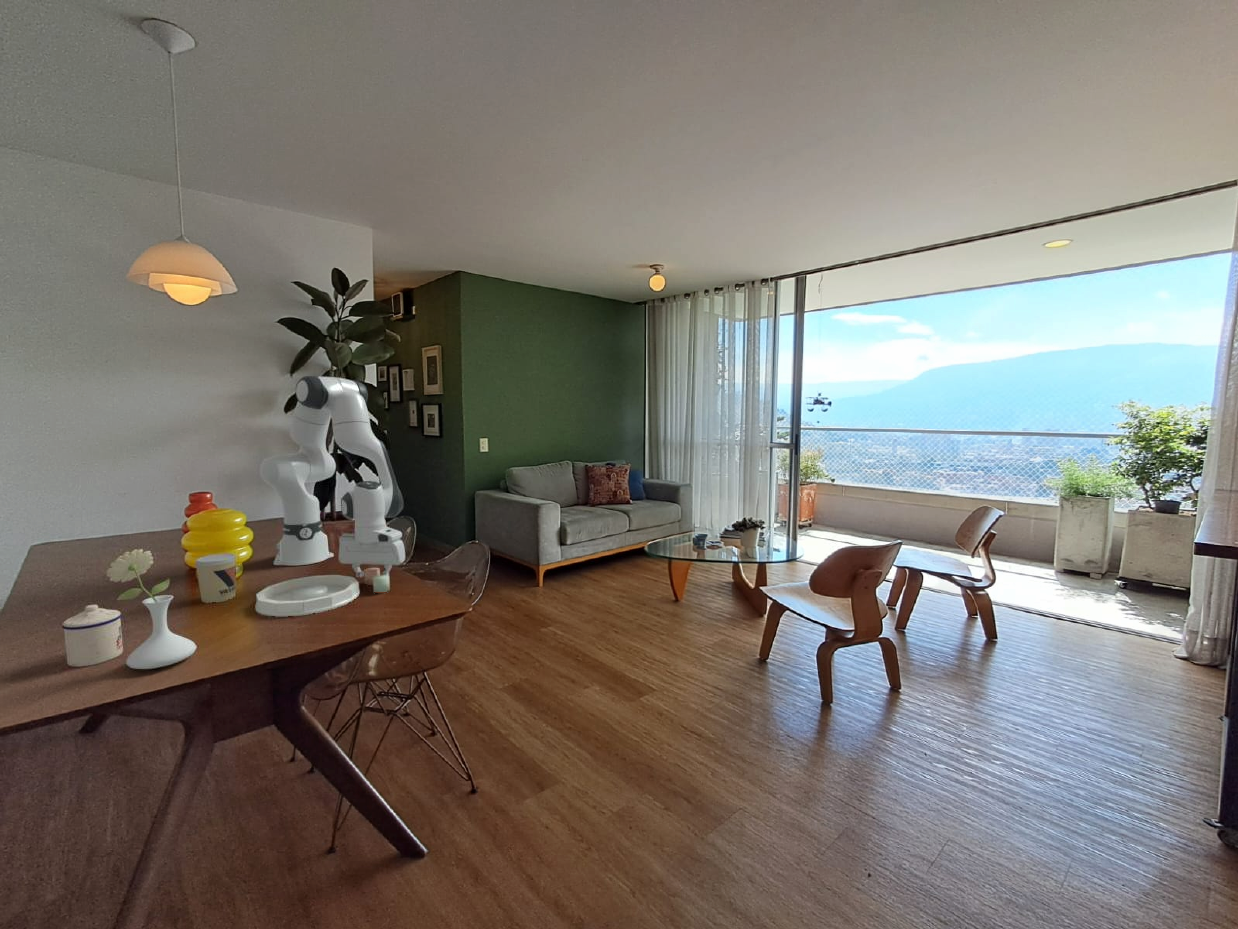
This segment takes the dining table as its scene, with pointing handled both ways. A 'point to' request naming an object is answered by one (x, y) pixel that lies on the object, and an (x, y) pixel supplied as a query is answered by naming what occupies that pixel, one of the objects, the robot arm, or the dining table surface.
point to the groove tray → (305, 607)
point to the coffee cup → (217, 577)
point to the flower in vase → (162, 642)
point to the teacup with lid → (93, 636)
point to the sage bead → (381, 583)
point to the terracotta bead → (371, 575)
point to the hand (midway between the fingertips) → (372, 577)
